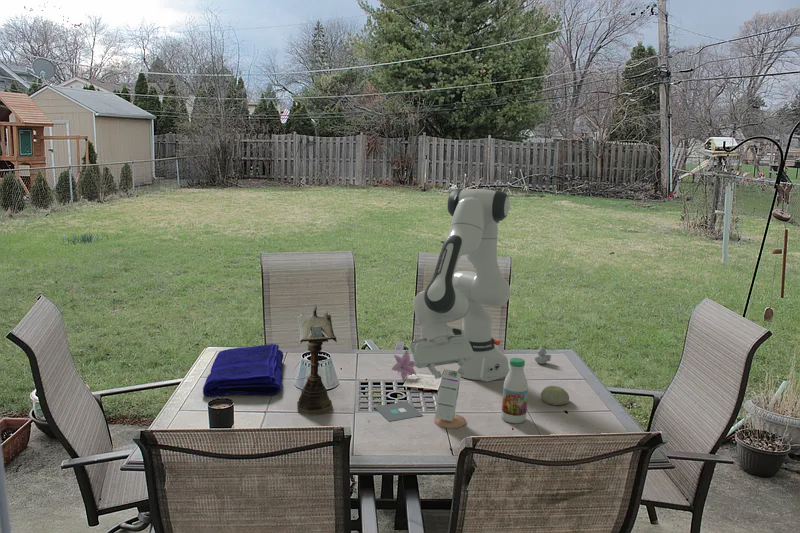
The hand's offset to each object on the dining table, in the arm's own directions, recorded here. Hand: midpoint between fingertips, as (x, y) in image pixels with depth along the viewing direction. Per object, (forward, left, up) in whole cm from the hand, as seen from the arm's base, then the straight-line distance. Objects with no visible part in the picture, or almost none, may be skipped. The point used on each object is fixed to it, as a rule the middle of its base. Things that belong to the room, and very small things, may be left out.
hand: (450, 376), depth 200 cm
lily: (-3, -40, -15) cm, 43 cm away
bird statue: (+36, -22, -15) cm, 45 cm away
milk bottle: (-20, +7, -15) cm, 26 cm away
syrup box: (+2, 0, -13) cm, 13 cm away
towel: (+51, -59, -15) cm, 80 cm away
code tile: (+12, -12, -15) cm, 23 cm away
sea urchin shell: (-42, 0, -15) cm, 44 cm away
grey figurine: (-62, -33, -15) cm, 72 cm away
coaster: (0, +1, -15) cm, 15 cm away
